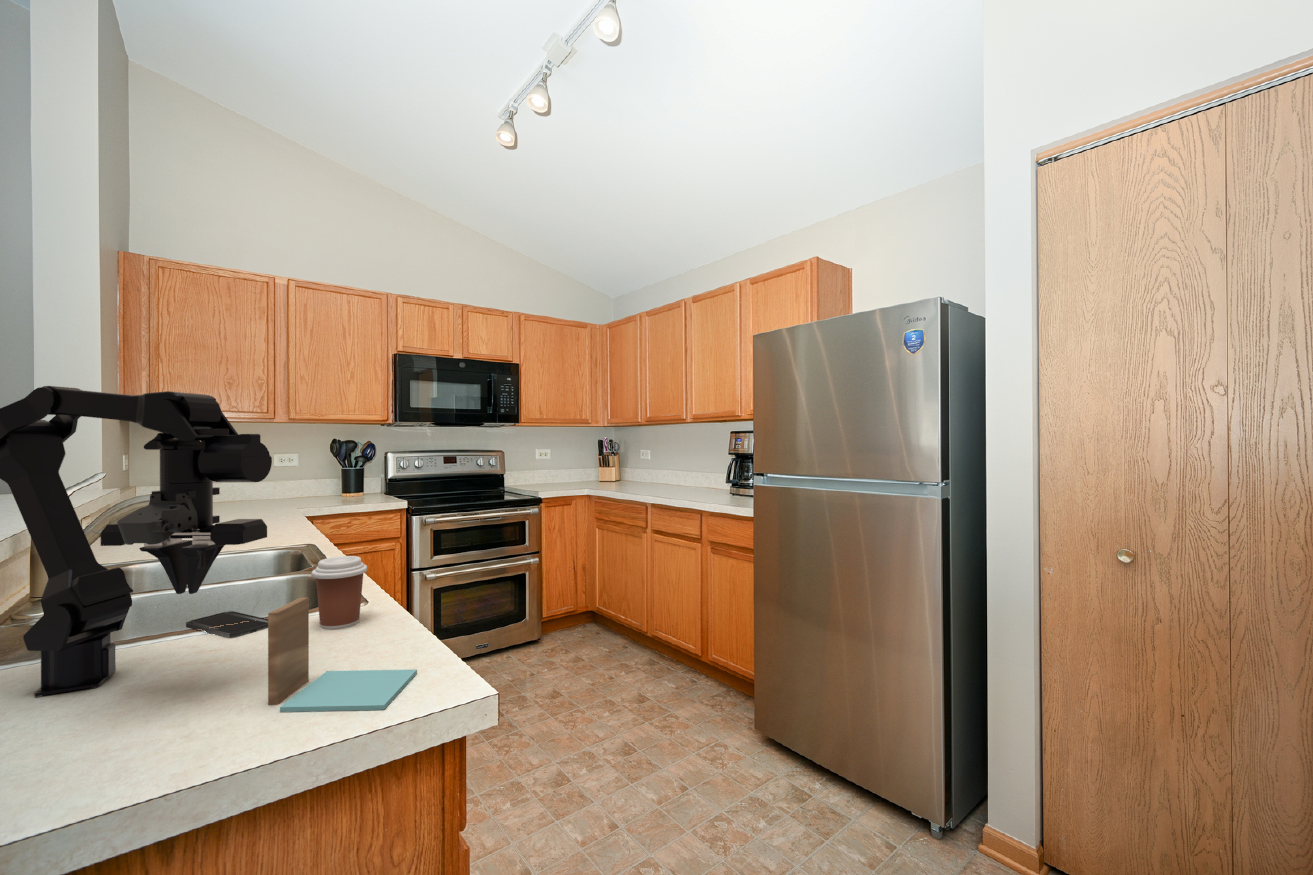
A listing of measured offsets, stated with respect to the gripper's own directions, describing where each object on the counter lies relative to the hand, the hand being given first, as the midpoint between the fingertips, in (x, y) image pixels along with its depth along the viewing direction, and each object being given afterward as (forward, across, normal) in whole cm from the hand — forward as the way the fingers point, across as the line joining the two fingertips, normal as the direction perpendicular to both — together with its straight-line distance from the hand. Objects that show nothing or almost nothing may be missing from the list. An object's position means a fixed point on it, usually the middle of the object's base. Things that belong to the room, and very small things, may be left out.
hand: (187, 593), depth 78 cm
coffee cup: (+13, +8, +26) cm, 30 cm away
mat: (+13, +24, -3) cm, 28 cm away
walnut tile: (+13, +16, -3) cm, 20 cm away
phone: (+14, -12, +25) cm, 31 cm away
